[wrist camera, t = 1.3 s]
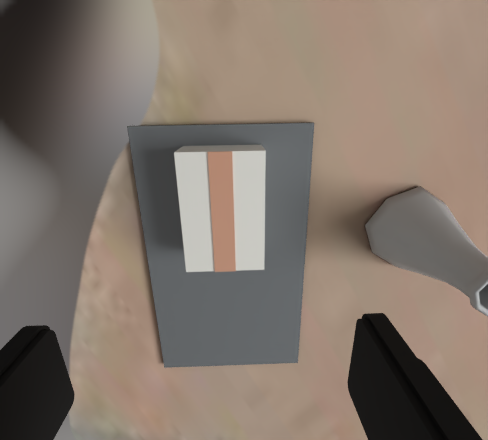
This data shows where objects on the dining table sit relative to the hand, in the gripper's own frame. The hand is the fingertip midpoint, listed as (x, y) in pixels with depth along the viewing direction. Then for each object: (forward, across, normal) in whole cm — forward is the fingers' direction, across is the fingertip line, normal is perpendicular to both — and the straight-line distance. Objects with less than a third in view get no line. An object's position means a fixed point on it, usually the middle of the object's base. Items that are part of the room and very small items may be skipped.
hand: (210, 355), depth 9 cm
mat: (+16, 0, +6) cm, 17 cm away
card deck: (+16, 0, 0) cm, 16 cm away
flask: (+16, -16, +3) cm, 23 cm away
